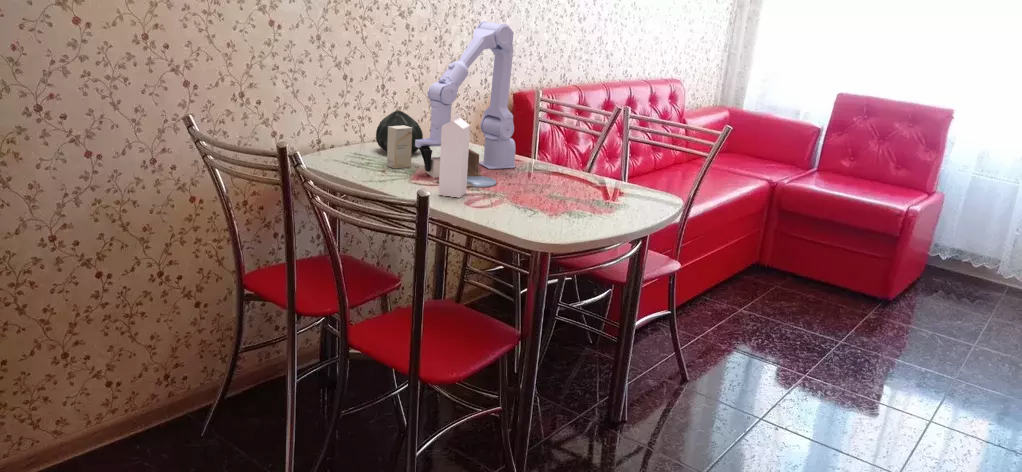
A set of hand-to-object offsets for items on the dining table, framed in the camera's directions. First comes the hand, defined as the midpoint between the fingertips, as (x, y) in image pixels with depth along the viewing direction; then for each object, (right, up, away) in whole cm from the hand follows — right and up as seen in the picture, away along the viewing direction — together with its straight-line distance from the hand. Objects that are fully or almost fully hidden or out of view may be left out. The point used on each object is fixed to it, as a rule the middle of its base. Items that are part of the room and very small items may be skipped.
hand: (438, 170), depth 219 cm
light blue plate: (+12, -4, -4) cm, 13 cm away
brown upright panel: (+8, 0, +6) cm, 10 cm away
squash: (-15, +8, +24) cm, 29 cm away
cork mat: (+6, -5, -8) cm, 11 cm away
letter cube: (0, -1, 0) cm, 2 cm away
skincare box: (-13, +2, +7) cm, 15 cm away
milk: (+6, -8, -18) cm, 20 cm away
